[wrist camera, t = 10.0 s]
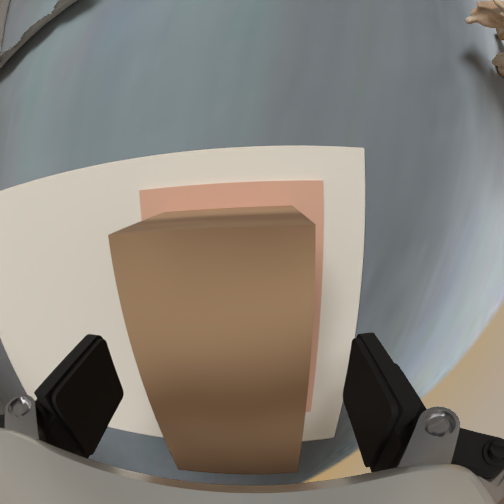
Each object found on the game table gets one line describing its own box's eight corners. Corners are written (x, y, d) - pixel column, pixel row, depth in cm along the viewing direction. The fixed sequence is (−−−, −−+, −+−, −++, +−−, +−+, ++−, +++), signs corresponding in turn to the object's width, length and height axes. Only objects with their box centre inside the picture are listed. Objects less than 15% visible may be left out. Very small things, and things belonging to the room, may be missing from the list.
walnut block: (164, 212, 12) (107, 234, 7) (292, 205, 12) (315, 224, 7) (195, 402, 15) (178, 469, 10) (289, 403, 14) (297, 472, 10)
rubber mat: (34, 397, 17) (30, 402, 16) (-26, 201, 12) (-33, 202, 12) (332, 431, 16) (334, 439, 15) (359, 149, 12) (365, 147, 11)
